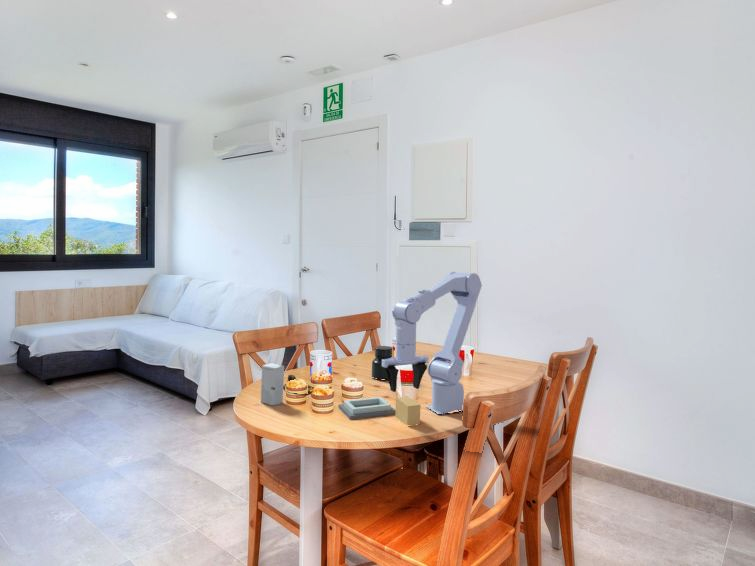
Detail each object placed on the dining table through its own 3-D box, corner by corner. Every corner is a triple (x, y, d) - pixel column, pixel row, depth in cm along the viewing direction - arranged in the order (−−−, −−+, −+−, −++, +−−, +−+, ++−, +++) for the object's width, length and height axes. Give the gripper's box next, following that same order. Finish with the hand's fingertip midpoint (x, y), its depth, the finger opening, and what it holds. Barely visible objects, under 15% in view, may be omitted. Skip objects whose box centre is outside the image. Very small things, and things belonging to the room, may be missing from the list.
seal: (319, 396, 165) (298, 385, 177) (321, 382, 165) (299, 372, 177) (296, 397, 160) (275, 386, 171) (297, 383, 160) (277, 373, 171)
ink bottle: (399, 377, 187) (400, 347, 186) (386, 382, 180) (387, 351, 179) (379, 373, 193) (380, 344, 192) (366, 377, 186) (366, 347, 185)
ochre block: (407, 416, 144) (408, 396, 143) (419, 425, 136) (420, 404, 136) (395, 417, 142) (395, 397, 142) (407, 426, 135) (407, 406, 134)
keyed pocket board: (382, 403, 155) (382, 395, 155) (396, 413, 145) (396, 405, 145) (338, 407, 149) (338, 399, 149) (349, 419, 139) (350, 411, 139)
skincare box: (260, 402, 152) (260, 365, 152) (269, 399, 156) (270, 362, 156) (274, 406, 149) (275, 368, 149) (284, 402, 153) (284, 365, 153)
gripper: (420, 339, 145) (419, 383, 146) (377, 342, 138) (376, 388, 139) (432, 343, 138) (431, 389, 139) (388, 347, 132) (387, 395, 133)
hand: (404, 389), depth 139 cm, fingers open, 7 cm apart
